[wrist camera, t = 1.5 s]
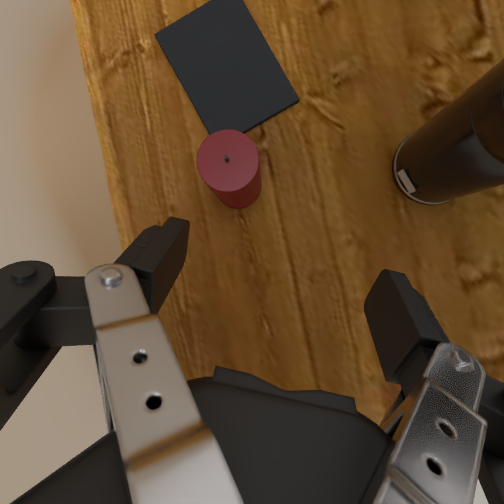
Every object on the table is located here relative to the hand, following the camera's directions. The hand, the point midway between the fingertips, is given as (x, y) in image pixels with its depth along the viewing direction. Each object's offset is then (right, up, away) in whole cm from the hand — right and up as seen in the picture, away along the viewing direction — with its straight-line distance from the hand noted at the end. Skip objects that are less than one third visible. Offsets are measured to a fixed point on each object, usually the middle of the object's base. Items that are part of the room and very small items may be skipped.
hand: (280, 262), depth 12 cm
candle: (-3, +9, +26) cm, 28 cm away
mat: (-5, +24, +26) cm, 36 cm away
